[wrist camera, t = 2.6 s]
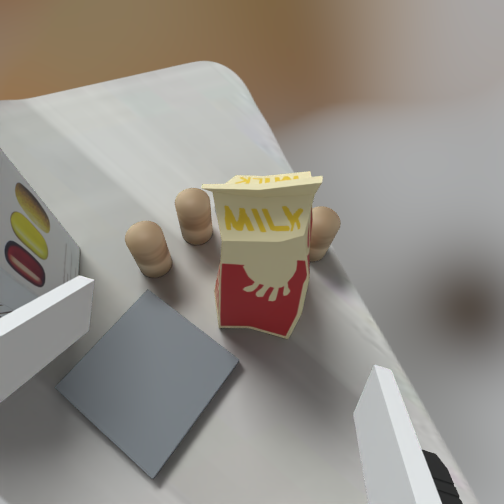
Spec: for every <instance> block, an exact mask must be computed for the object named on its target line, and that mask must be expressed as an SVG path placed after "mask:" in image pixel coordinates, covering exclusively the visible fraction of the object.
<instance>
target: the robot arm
mask: <svg viewBox="0 0 504 504" xmlns="http://www.w3.org/2000/svg"><path fill="white" fill-rule="evenodd" d="M94 281H95V280H93V279H90V278H87V277H83V276H80V275H79V276H77V277H75V278H74V279H72V280H70V281H68V282H66V283H64V284H62V285H61V286H59V287H57V288H55V289H53V290H51V291H49V292H48V293H46V294H44V295H42V296H40V297H38V298H37V299H35V300H33V301H31V302H29V303H27V304H25V305H24V306H22V307H20V308H18V309H16V310H14V311H13V312H11V313H9V314H7V315H5V316H3V317H1V316H0V403H1V402H2V401H3V400H5V399H6V398H7V397H8V396H10V395H11V394H12V393H13V392H14V391H16V390H17V389H18V388H19V387H21V386H22V385H23V384H24V383H26V382H27V381H28V380H29V379H30V378H32V377H33V376H34V375H35V374H37V373H38V372H39V371H40V370H41V369H43V368H44V367H45V366H46V365H48V364H49V363H50V362H51V361H52V360H54V359H55V358H56V357H57V356H59V355H60V354H61V353H62V352H63V351H65V350H66V349H67V348H68V347H70V346H71V345H72V344H73V343H75V342H76V341H77V340H78V339H79V338H81V337H82V336H83V335H84V334H86V333H87V332H88V331H89V327H90V318H91V308H92V299H93V290H94ZM353 415H354V421H355V427H356V433H357V439H358V445H359V451H360V457H361V463H362V469H363V475H364V481H365V487H366V493H367V499H368V504H462V501H461V500H460V499H459V494H458V492H457V490H456V487H454V483H453V481H452V478H451V476H450V474H449V471H448V469H447V468H446V466H445V465H444V464H443V463H442V461H441V460H440V459H439V457H438V456H437V455H436V454H434V453H431V452H428V451H425V450H422V449H421V447H420V444H419V441H418V439H417V436H416V433H415V431H414V428H413V425H412V423H411V420H410V417H409V415H408V412H407V409H406V407H405V404H404V402H403V399H402V396H401V394H400V391H399V388H398V386H397V383H396V380H395V378H394V375H393V372H392V370H391V369H387V368H384V367H381V366H377V365H374V366H373V368H372V371H371V373H370V375H369V378H368V380H367V382H366V385H365V387H364V390H363V392H362V394H361V397H360V399H359V402H358V404H357V406H356V409H355V411H354V413H353Z"/></svg>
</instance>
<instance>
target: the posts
mask: <svg viewBox="0 0 504 504" xmlns="http://www.w3.org/2000/svg"><path fill="white" fill-rule="evenodd" d="M175 207H176V211H177V215H178V219H179V224H180V228H181V232H182V236H183V238H184V239H185V241H187V242H188V243H190V244H193V245H200V244H203V243H205V242H207V241H208V240H209V239H210V238H211V236H212V220H211V207H210V198H209V196H208V195H207V193H206V192H204V191H203V190H201V189H197V188H189V189H185V190H183V191H182V192H180V193H179V194H178V195H177V197H176V199H175ZM312 212H313V222H312V231H311V240H310V249H309V261H310V262H315V261H319V260H321V259H322V258H323V257H324V256H325V254H326V252H327V250H328V248H329V246H330V245H331V243H332V241H333V239H334V237H335V235H336V234H337V232H338V230H339V228H340V218H339V216H338V215H337V213H336V212H334V211H333V210H332V209H330V208H327V207H315V208H313V209H312ZM125 242H126V245H127V247H128V248H129V250H130V252H131V254H132V256H133V257H134V259H135V261H136V263H137V265H138V266H139V268H140V270H141V272H142V273H143V274H144V275H146V276H148V277H151V278H157V277H161V276H163V275H165V274H166V273H167V272H168V271H169V270H170V268H171V265H172V259H171V256H170V253H169V250H168V247H167V244H166V241H165V238H164V235H163V232H162V229H161V228H160V226H159V225H157V224H156V223H154V222H151V221H141V222H138V223H136V224H134V225H132V226H131V227H130V228H129V229H128V231H127V233H126V235H125Z"/></svg>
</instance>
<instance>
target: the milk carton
mask: <svg viewBox="0 0 504 504" xmlns="http://www.w3.org/2000/svg"><path fill="white" fill-rule="evenodd" d="M322 178H323V177H322V176H317V177H311V173H310V171H309V172H299V173H290V174H280V175H270V176H242V175H236V176H235V177H233V178H232V179H231V180H229V181H228V182H227V183H225V184H202V189H205V190H208V191H212V192H213V197H214V202H215V208H216V213H217V218H218V224H219V229H220V234H221V240H222V244H221V260H220V265H219V270H218V275H217V280H216V285H215V290H214V293H215V301H216V309H217V316H218V324H219V328H250V329H253V330H257V331H260V332H264V333H268V334H271V335H275V336H278V337H282V338H285V339H289V337H290V335H291V333H292V331H293V329H294V328H295V326H296V324H297V322H298V320H299V318H300V316H301V314H302V310H303V305H304V301H305V296H306V292H307V287H308V283H309V278H310V268H309V249H310V240H311V231H312V222H313V212H312V203H313V199H314V195H315V193H316V192H317V190H318V188H319V187H320V185H321V184H322Z"/></svg>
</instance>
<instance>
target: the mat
mask: <svg viewBox="0 0 504 504" xmlns="http://www.w3.org/2000/svg"><path fill="white" fill-rule="evenodd" d="M238 362H239V359H238V358H236V357H235V356H234V355H233V354H231V353H230V352H229V351H227V350H226V349H225V348H224V347H222V346H221V345H220V344H218V343H217V342H216V341H214V340H213V339H212V338H211V337H209V336H208V335H207V334H205V333H204V332H203V331H201V330H200V329H199V328H198V327H196V326H195V325H194V324H192V323H191V322H190V321H188V320H187V319H186V318H185V317H183V316H182V315H181V314H179V313H178V312H177V311H175V310H174V309H173V308H172V307H170V306H169V305H168V304H166V303H165V302H164V301H162V300H161V299H160V298H159V297H157V296H156V295H155V294H153V293H152V292H151V291H150V290H148V289H147V291H146V292H145V293H144V294H143V295H142V296H141V297H140V298H139V299H138V300H137V301H136V302H135V303H134V304H133V305H132V306H131V307H130V308H129V310H128V311H127V312H126V313H125V314H124V315H123V316H122V317H121V318H120V319H119V320H118V321H117V322H116V323H115V324H114V325H113V326H112V327H111V329H110V330H109V331H108V332H107V333H106V334H105V335H104V336H103V337H102V338H101V339H100V340H99V341H98V342H97V343H96V344H95V345H94V346H93V347H92V349H91V350H90V351H89V352H88V353H87V354H86V355H85V356H84V357H83V358H82V359H81V360H80V361H79V362H78V363H77V364H76V365H75V366H74V368H73V369H72V370H71V371H70V372H69V373H68V374H67V375H66V376H65V377H64V378H63V379H62V380H61V381H60V382H59V383H58V384H57V385H56V387H55V389H57V390H58V391H59V392H60V393H61V394H62V395H63V396H64V397H65V398H66V399H67V400H68V401H69V402H70V403H72V404H73V405H74V406H75V407H76V408H77V409H78V410H79V411H80V412H81V413H82V414H83V415H84V416H85V417H87V418H88V419H89V420H90V421H91V422H92V423H93V424H94V425H95V426H96V427H97V428H98V429H99V430H100V431H102V432H103V433H104V434H105V435H106V436H107V437H108V438H109V439H110V440H111V441H112V442H113V443H114V444H115V445H116V446H118V447H119V448H120V449H121V450H122V451H123V452H124V453H125V454H126V455H127V456H128V457H129V458H130V459H131V460H133V461H134V462H135V463H136V464H137V465H138V466H139V467H140V468H141V469H142V470H143V471H144V472H145V473H146V474H148V475H149V476H150V477H151V478H152V479H153V478H155V477H156V475H157V474H158V473H159V471H160V470H161V468H162V467H163V466H164V464H165V463H166V462H167V460H168V459H169V457H170V456H171V455H172V453H173V452H174V451H175V449H176V448H177V446H178V445H179V444H180V442H181V441H182V440H183V438H184V437H185V435H186V434H187V433H188V431H189V430H190V429H191V427H192V426H193V424H194V423H195V422H196V420H197V419H198V418H199V416H200V415H201V413H202V412H203V411H204V409H205V408H206V406H207V405H208V404H209V402H210V401H211V400H212V398H213V397H214V395H215V394H216V393H217V391H218V390H219V389H220V387H221V386H222V384H223V383H224V382H225V380H226V379H227V378H228V376H229V375H230V373H231V372H232V371H233V369H234V368H235V367H236V365H237V364H238Z"/></svg>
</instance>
